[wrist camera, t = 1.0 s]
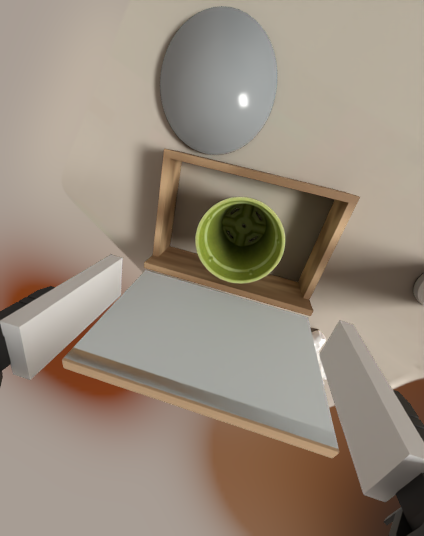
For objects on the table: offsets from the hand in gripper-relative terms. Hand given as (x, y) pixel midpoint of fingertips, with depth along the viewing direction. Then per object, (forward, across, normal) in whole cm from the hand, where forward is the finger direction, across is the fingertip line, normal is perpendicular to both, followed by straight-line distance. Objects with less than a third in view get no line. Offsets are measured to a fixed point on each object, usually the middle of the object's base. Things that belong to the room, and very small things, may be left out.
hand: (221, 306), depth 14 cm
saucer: (+20, -7, +14) cm, 26 cm away
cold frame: (+20, 0, 0) cm, 20 cm away
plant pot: (+20, 0, 0) cm, 20 cm away
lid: (+6, 0, -7) cm, 9 cm away
